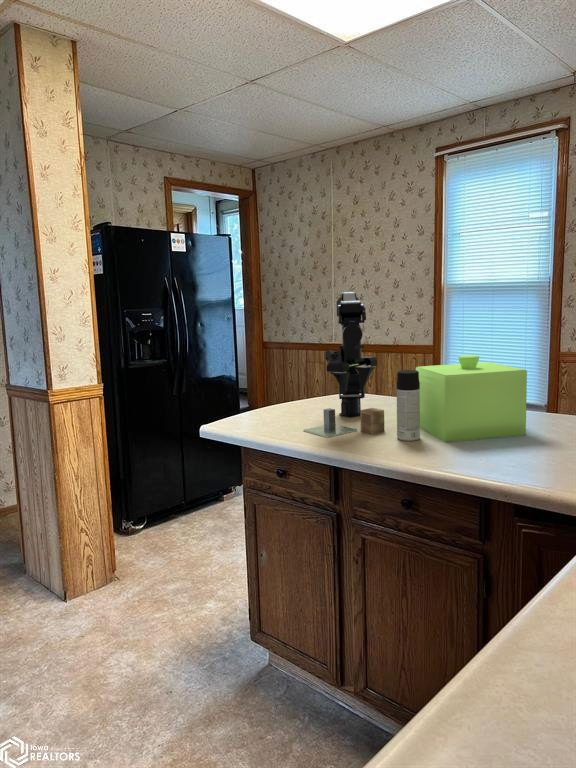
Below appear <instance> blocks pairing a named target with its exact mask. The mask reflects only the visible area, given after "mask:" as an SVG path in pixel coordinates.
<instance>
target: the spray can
mask: <svg viewBox="0 0 576 768" xmlns="http://www.w3.org/2000/svg"><path fill="white" fill-rule="evenodd" d="M396 374H397V375H396V436H397V437H396V438H397V440H399V441H404V442H406V441H407V442H413V441H415V442H416V441H418V440H419V439H420V438H421V429H420V381H419V372H418V371H416V369H411V370H410V369H404V370H398V371H397V373H396Z"/></svg>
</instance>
